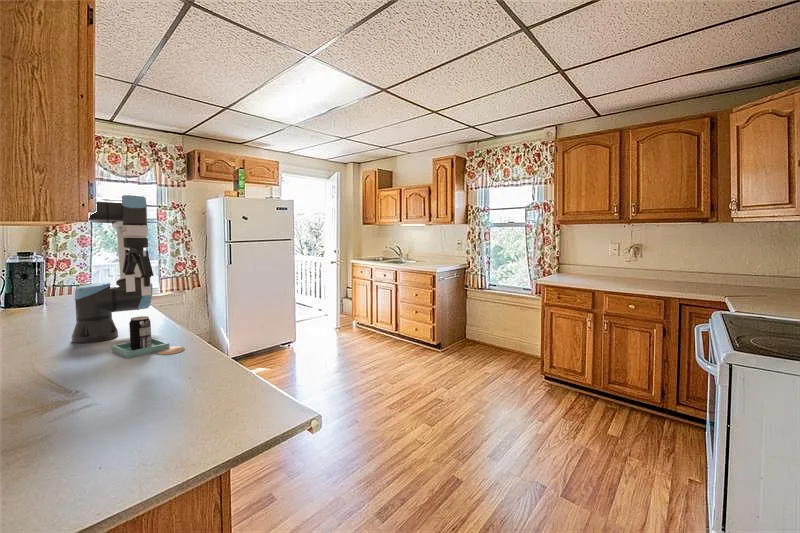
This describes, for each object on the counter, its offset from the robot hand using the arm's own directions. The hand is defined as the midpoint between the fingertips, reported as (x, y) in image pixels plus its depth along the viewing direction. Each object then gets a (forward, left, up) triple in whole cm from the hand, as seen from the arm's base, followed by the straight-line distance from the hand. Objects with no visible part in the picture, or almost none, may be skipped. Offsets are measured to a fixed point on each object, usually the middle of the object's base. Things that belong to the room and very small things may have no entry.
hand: (138, 293), depth 139 cm
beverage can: (0, 0, -22) cm, 22 cm away
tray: (0, 0, -22) cm, 22 cm away
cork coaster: (+10, +6, -22) cm, 25 cm away
